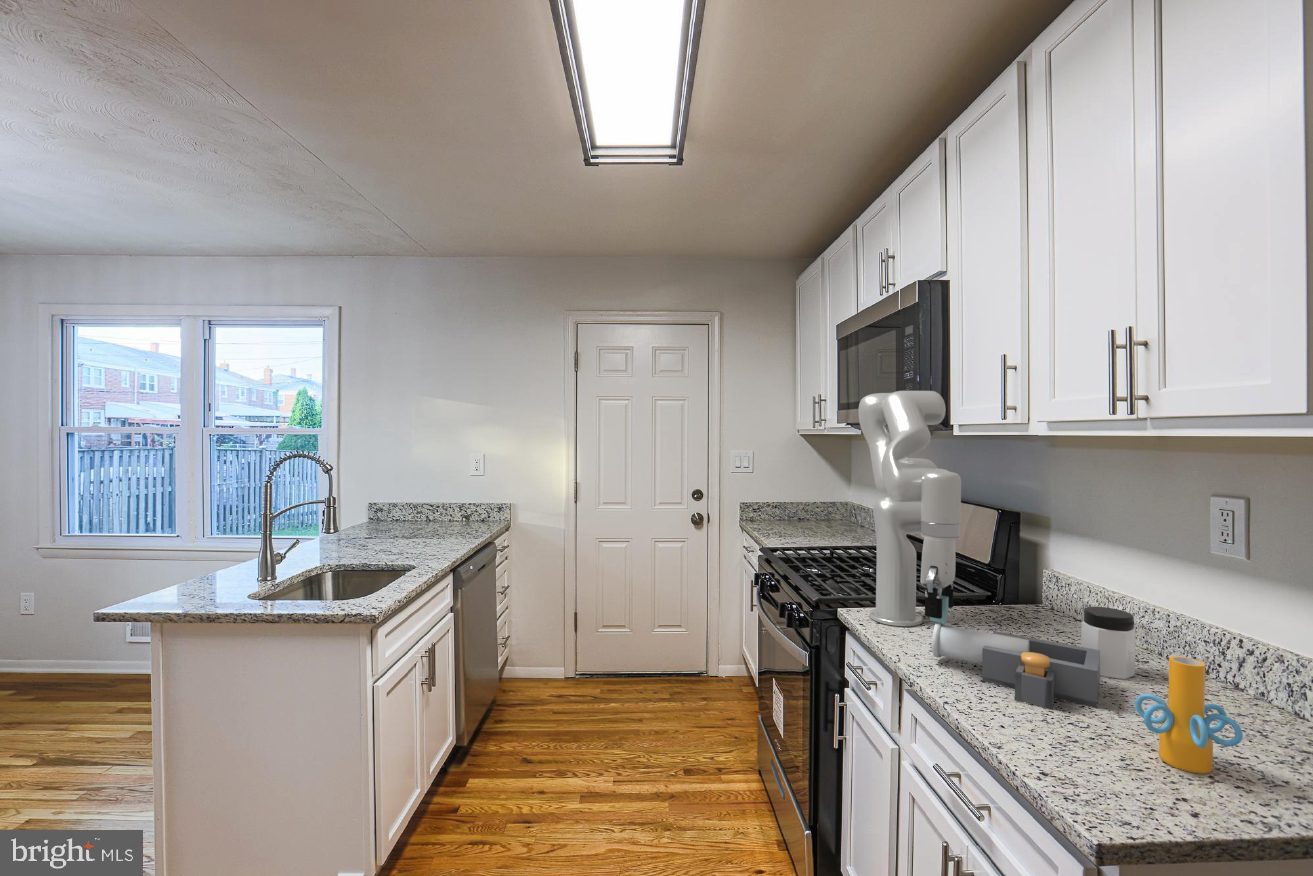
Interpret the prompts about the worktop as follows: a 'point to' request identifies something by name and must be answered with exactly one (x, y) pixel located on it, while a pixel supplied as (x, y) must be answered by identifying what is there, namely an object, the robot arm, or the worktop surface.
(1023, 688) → the housing
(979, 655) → the cartridge
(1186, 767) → the ringed yellow tube
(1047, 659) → the plunger
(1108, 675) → the jar
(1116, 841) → the worktop surface
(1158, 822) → the worktop surface
